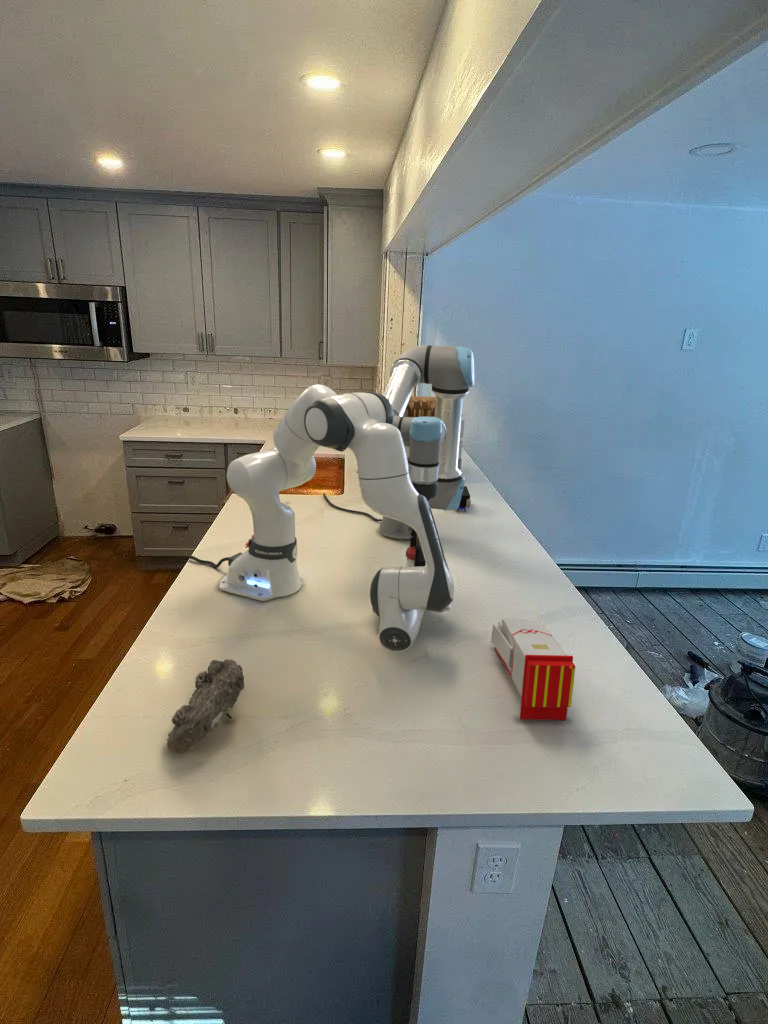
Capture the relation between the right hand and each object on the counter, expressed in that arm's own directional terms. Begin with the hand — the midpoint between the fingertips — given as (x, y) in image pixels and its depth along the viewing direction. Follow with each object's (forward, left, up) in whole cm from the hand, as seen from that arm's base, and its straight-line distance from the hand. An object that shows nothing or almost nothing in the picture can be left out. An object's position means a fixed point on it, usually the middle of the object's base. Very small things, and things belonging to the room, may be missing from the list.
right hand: (416, 565), depth 148 cm
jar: (0, 0, -12) cm, 12 cm away
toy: (+38, -3, -12) cm, 40 cm away
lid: (0, 0, +4) cm, 4 cm away
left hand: (-1, +1, -5) cm, 5 cm away
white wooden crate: (-93, +92, -12) cm, 131 cm away
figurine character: (-47, +70, -12) cm, 86 cm away
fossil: (+8, -61, -12) cm, 63 cm away
